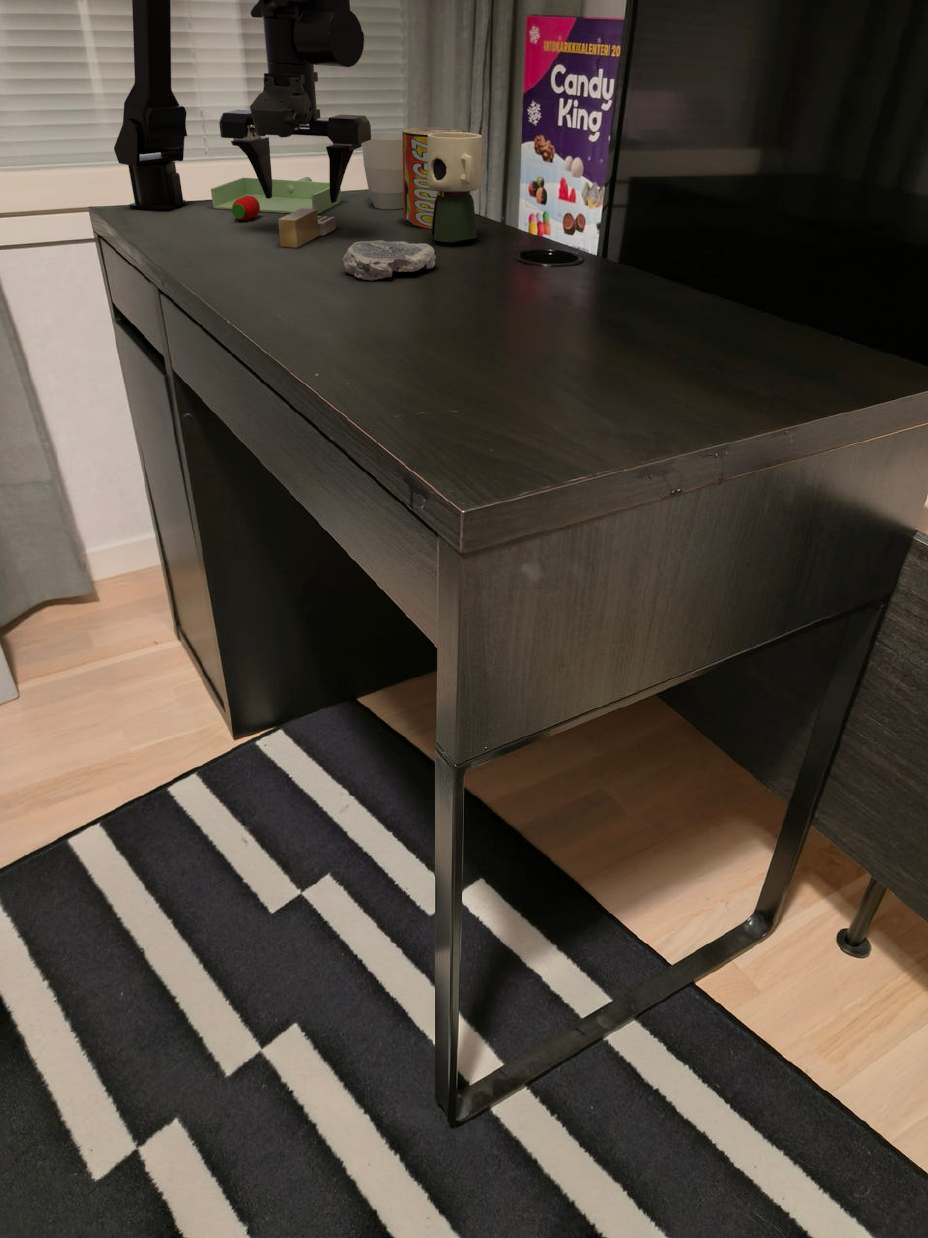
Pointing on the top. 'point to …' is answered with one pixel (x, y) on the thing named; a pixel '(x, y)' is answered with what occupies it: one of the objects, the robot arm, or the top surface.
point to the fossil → (386, 258)
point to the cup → (384, 169)
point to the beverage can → (418, 177)
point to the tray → (281, 189)
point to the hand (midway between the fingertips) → (301, 200)
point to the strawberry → (245, 208)
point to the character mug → (454, 183)
